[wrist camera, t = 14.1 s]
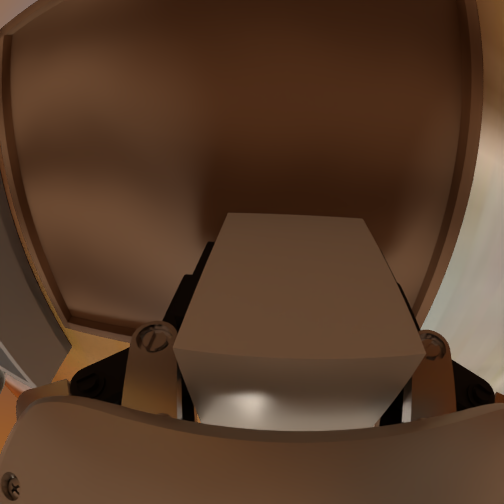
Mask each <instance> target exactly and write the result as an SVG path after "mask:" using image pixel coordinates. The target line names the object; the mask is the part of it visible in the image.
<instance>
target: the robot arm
mask: <svg viewBox="0 0 504 504" xmlns="http://www.w3.org/2000/svg"><path fill="white" fill-rule="evenodd" d="M214 244H215V242H210V241H209V242H207V244H206V246H205V248H204V251H203V253H202V255H201V257H200V259H199V261H198V263H197V266H196V268H195V270H194V272H193V274H185V275H184V276H183V278H182V280H181V282H180V284H179V286H178V288H177V290H176V292H175V295H174V297H173V299H172V301H171V303H170V305H169V307H168V309H167V311H166V314H165V316H164V318H163V320H162V321H151V322H148V323H145V324H143V325H141V326H140V327H139V328H137V329H136V331H135V332H134V333H133V335H132V338H131V343H130V347H129V348H127V349H125V350H122V351H120V352H118V353H116V354H114V355H112V356H109V357H107V358H105V359H103V360H101V361H98V362H96V363H94V364H92V365H89V366H87V367H85V368H83V369H81V370H80V371H78V372H77V373H76V374H75V375H74V376H73V378H72V380H71V381H68V380H67V379H64V380H61V381H57V382H54V383H51V384H47V385H44V386H40V387H36V388H33V389H29V390H26V391H24V392H23V393H22V394H21V395H20V396H19V398H18V400H17V405H16V416H17V422H16V423H15V425H14V427H13V428H12V430H11V432H10V434H9V436H8V438H7V440H6V442H5V445H4V447H3V449H2V452H1V454H0V504H504V395H502V394H500V393H498V392H496V393H495V394H494V392H493V389H492V387H491V386H490V384H489V383H488V382H486V381H485V380H484V379H482V378H480V377H479V376H477V375H476V374H474V373H472V372H471V371H469V370H468V369H466V368H464V367H463V366H461V365H460V364H458V363H456V362H455V361H453V360H452V359H451V352H450V347H449V344H448V342H447V341H446V339H445V338H444V337H443V336H442V335H440V334H439V333H437V332H435V331H431V330H420V327H419V325H418V323H417V320H416V318H415V316H414V313H413V311H412V309H411V307H410V304H409V302H408V300H407V298H406V296H405V294H404V291H403V289H402V287H401V285H400V284H399V283H397V281H396V279H395V277H394V275H393V273H392V271H391V269H390V267H389V265H388V263H387V261H386V259H385V257H384V255H383V253H382V251H381V250H380V251H381V253H382V255H383V257H384V259H385V261H386V263H387V265H388V267H389V269H390V271H391V273H392V275H393V277H394V279H395V281H396V283H397V285H398V287H399V290H400V292H401V294H402V296H403V298H404V301H405V303H406V305H407V307H408V310H409V312H410V314H411V317H412V319H413V321H414V324H415V326H416V329H417V331H418V333H419V336H420V339H421V341H422V344H423V346H424V349H425V352H426V355H425V356H424V358H423V359H422V361H421V362H420V364H419V366H418V367H417V369H416V370H415V372H414V373H413V375H412V376H411V378H410V379H409V380H408V382H407V383H406V385H405V386H404V387H403V389H402V390H401V392H400V393H399V394H398V396H397V397H396V398H395V400H394V401H393V402H392V404H391V405H390V406H389V407H388V409H387V410H386V411H385V412H384V414H383V415H382V416H381V417H380V419H379V420H378V421H377V422H376V423H375V425H374V427H370V428H360V429H348V430H330V431H276V430H258V429H245V428H235V427H226V426H218V425H210V424H204V423H198V422H197V411H196V409H195V407H194V404H193V402H192V399H191V397H190V394H189V392H188V389H187V387H186V384H185V381H184V379H183V376H182V373H181V371H180V368H179V365H178V362H177V359H176V357H175V354H174V351H173V345H174V342H175V340H176V337H177V335H178V332H179V330H180V327H181V324H182V322H183V319H184V317H185V314H186V312H187V309H188V307H189V304H190V302H191V299H192V297H193V294H194V292H195V289H196V287H197V285H198V282H199V280H200V277H201V275H202V272H203V270H204V268H205V265H206V263H207V260H208V258H209V256H210V253H211V251H212V249H213V246H214Z"/></svg>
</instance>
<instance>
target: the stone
mask: <svg viewBox="0 0 504 504" xmlns="http://www.w3.org/2000/svg"><path fill="white" fill-rule="evenodd" d="M173 351H174V354H175V357H176V359H177V362H178V365H179V368H180V371H181V373H182V376H183V379H184V381H185V384H186V387H187V389H188V392H189V394H190V397H191V399H192V402H193V404H194V407H195V409H196V411H197V414H198V416H199V419H200V421H201V423H204V424H210V425H218V426H226V427H235V428H245V429H258V430H276V431H330V430H348V429H360V428H370V427H373V426H374V424H375V423H376V422H377V421H378V420H379V419H380V417H381V416H382V415H383V414H384V412H385V411H386V410H387V409H388V407H389V406H390V405H391V404H392V402H393V401H394V400H395V398H396V397H397V396H398V394H399V393H400V392H401V390H402V389H403V387H404V386H405V385H406V383H407V382H408V380H409V379H410V378H411V376H412V375H413V373H414V372H415V370H416V369H417V367H418V366H419V364H420V362H421V361H422V359H423V358H424V356H425V355H426V352H425V349H424V346H423V344H422V341H421V339H420V336H419V333H418V331H417V329H416V326H415V324H414V321H413V319H412V317H411V314H410V312H409V310H408V307H407V305H406V303H405V301H404V298H403V296H402V294H401V292H400V290H399V287H398V285H397V283H396V281H395V279H394V277H393V275H392V273H391V271H390V269H389V267H388V265H387V263H386V261H385V259H384V257H383V255H382V253H381V251H380V249H379V247H378V245H377V244H376V242H375V240H374V238H373V236H372V234H371V233H370V231H369V229H368V227H367V225H366V224H365V222H364V220H363V219H360V218H345V217H329V216H310V215H288V214H260V213H228V214H227V216H226V219H225V221H224V223H223V226H222V228H221V230H220V232H219V235H218V237H217V239H216V242H215V244H214V246H213V249H212V251H211V253H210V256H209V258H208V260H207V263H206V265H205V268H204V270H203V272H202V275H201V277H200V280H199V282H198V285H197V287H196V289H195V292H194V294H193V297H192V299H191V302H190V304H189V307H188V309H187V312H186V314H185V317H184V319H183V322H182V324H181V327H180V330H179V332H178V335H177V337H176V340H175V342H174V345H173Z"/></svg>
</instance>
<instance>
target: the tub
mask: <svg viewBox="0 0 504 504" xmlns="http://www.w3.org/2000/svg"><path fill="white" fill-rule="evenodd" d="M71 348H72V346H71V345H70V343H69V341H68V340H67V338H66V336H65V335H64V333H63V331H62V330H61V328H60V326H59V324H58V323H57V321H56V319H55V317H54V315H53V313H52V312H51V310H50V308H49V306H48V304H47V302H46V300H45V298H44V296H43V294H42V292H41V290H40V288H39V286H38V283H37V281H36V279H35V277H34V275H33V272H32V270H31V268H30V265H29V263H28V260H27V258H26V255H25V253H24V250H23V248H22V245H21V242H20V239H19V237H18V234H17V231H16V228H15V225H14V222H13V219H12V215H11V212H10V209H9V205H8V202H7V198H6V194H5V190H4V186H3V182H2V177H1V173H0V369H1V370H2V371H4V372H5V373H7V374H8V375H10V376H12V377H13V378H15V379H17V380H18V381H20V382H22V383H23V384H25V385H27V386H29V387H31V388H32V389H33V388H36V387H40V386H44V385H47V384H50V383H51V381H52V380H53V378H54V376H55V374H56V373H57V371H58V369H59V367H60V366H61V364H62V362H63V361H64V359H65V357H66V356H67V354H68V352H69V351H70V349H71Z"/></svg>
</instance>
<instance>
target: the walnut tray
mask: <svg viewBox="0 0 504 504" xmlns="http://www.w3.org/2000/svg"><path fill="white" fill-rule="evenodd" d="M482 106H483V54H482V41H481V31H480V23H479V16H478V10H477V5H476V0H38V1H36V2H35V3H33V4H32V5H31V6H29V7H28V8H26V9H25V10H24V11H23V12H21V13H20V14H18V15H17V16H16V17H15V18H13V19H12V20H11V21H10V22H8V23H7V24H6V25H5V26H3V27H2V28H1V29H0V143H1V149H2V155H3V161H4V166H5V171H6V176H7V180H8V185H9V189H10V193H11V197H12V200H13V204H14V208H15V211H16V214H17V218H18V221H19V224H20V227H21V230H22V233H23V236H24V239H25V242H26V244H27V247H28V250H29V252H30V255H31V257H32V260H33V262H34V265H35V267H36V270H37V272H38V274H39V277H40V279H41V281H42V283H43V285H44V288H45V290H46V292H47V294H48V296H49V298H50V300H51V302H52V304H53V306H54V308H55V310H56V312H57V314H58V316H59V317H60V319H61V321H62V323H63V325H64V326H65V328H69V329H73V330H76V331H80V332H84V333H88V334H92V335H96V336H101V337H105V338H109V339H114V340H119V341H123V342H128V343H131V338H132V335H133V333H134V332H135V331H136V329H137V328H139V327H140V326H141V325H143V324H145V323H148V322H151V321H162V320H163V318H164V316H165V314H166V311H167V309H168V307H169V305H170V303H171V301H172V299H173V297H174V295H175V292H176V290H177V288H178V286H179V284H180V282H181V280H182V278H183V276H184V275H185V274H193V272H194V270H195V268H196V266H197V263H198V261H199V259H200V257H201V255H202V253H203V251H204V248H205V246H206V244H207V242H209V241H210V242H216V239H217V237H218V235H219V232H220V230H221V228H222V226H223V223H224V221H225V219H226V216H227V214H228V213H260V214H288V215H310V216H329V217H345V218H360V219H363V220H364V222H365V224H366V225H367V227H368V229H369V231H370V233H371V234H372V236H373V238H374V240H375V242H376V244H377V245H378V247H379V249H380V250H381V251H382V253H383V255H384V257H385V259H386V261H387V263H388V265H389V267H390V269H391V271H392V273H393V275H394V277H395V279H396V281H397V283H399V284H400V285H401V287H402V289H403V291H404V294H405V296H406V298H407V300H408V302H409V304H410V307H411V309H412V311H413V313H414V316H415V318H416V320H417V323H418V325H419V327H420V328H421V326H422V324H423V322H424V320H425V318H426V316H427V314H428V312H429V310H430V308H431V306H432V303H433V301H434V299H435V297H436V294H437V292H438V290H439V287H440V285H441V282H442V280H443V278H444V275H445V272H446V270H447V267H448V265H449V262H450V259H451V256H452V253H453V251H454V248H455V245H456V242H457V238H458V235H459V232H460V229H461V225H462V222H463V218H464V215H465V211H466V207H467V203H468V199H469V195H470V191H471V186H472V181H473V177H474V171H475V166H476V160H477V154H478V147H479V139H480V131H481V120H482Z"/></svg>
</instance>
